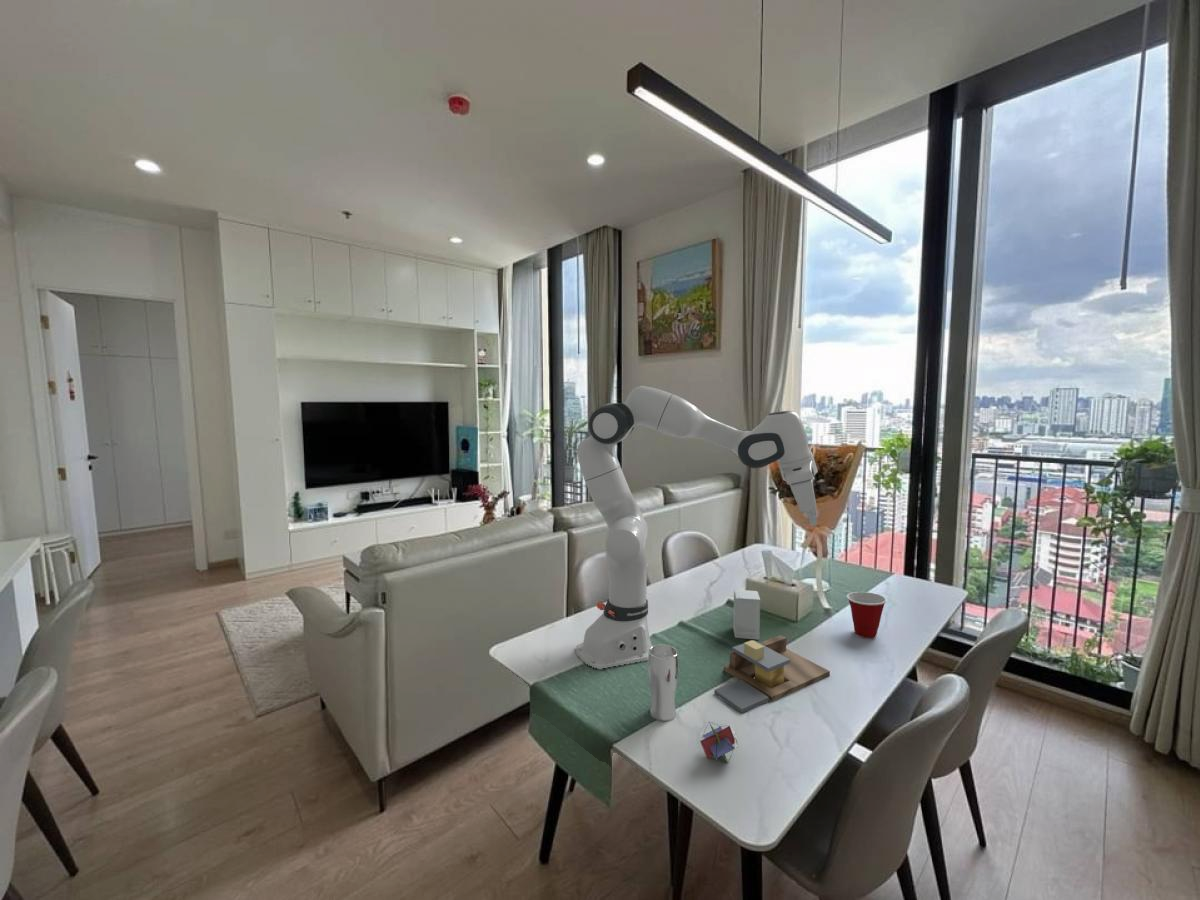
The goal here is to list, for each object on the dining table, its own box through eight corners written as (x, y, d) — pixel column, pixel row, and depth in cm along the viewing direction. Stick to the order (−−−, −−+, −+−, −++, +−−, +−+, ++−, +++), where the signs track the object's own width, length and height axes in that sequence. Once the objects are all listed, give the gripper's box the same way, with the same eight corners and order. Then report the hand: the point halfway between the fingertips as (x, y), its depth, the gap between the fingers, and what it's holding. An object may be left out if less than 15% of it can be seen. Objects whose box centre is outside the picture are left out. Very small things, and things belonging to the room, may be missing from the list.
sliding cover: (768, 672, 121) (768, 656, 120) (732, 650, 131) (732, 636, 131) (789, 663, 125) (790, 648, 124) (753, 643, 135) (753, 629, 135)
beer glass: (641, 712, 114) (641, 651, 112) (660, 700, 119) (660, 640, 117) (665, 726, 109) (665, 662, 107) (684, 712, 114) (684, 651, 112)
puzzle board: (771, 701, 118) (772, 681, 117) (723, 670, 131) (724, 652, 131) (829, 675, 129) (830, 657, 128) (779, 649, 142) (780, 632, 142)
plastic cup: (852, 622, 159) (853, 586, 158) (889, 633, 151) (891, 596, 150) (839, 634, 151) (841, 596, 150) (878, 646, 144) (880, 606, 142)
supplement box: (759, 640, 148) (760, 599, 147) (734, 638, 149) (735, 598, 148) (757, 629, 155) (757, 590, 154) (732, 627, 156) (733, 588, 155)
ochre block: (770, 690, 122) (770, 671, 122) (754, 680, 127) (755, 662, 126) (783, 684, 125) (784, 665, 124) (768, 675, 129) (768, 657, 129)
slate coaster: (741, 713, 113) (741, 709, 113) (714, 693, 121) (714, 689, 121) (768, 701, 118) (768, 697, 118) (740, 682, 125) (740, 679, 125)
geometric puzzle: (700, 762, 95) (723, 728, 95) (687, 738, 102) (709, 707, 102) (727, 778, 97) (750, 745, 97) (713, 754, 103) (734, 723, 103)
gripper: (786, 466, 139) (800, 513, 139) (785, 479, 120) (801, 533, 120) (810, 460, 137) (824, 508, 137) (812, 473, 118) (828, 528, 118)
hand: (813, 520), depth 128 cm, fingers open, 8 cm apart
